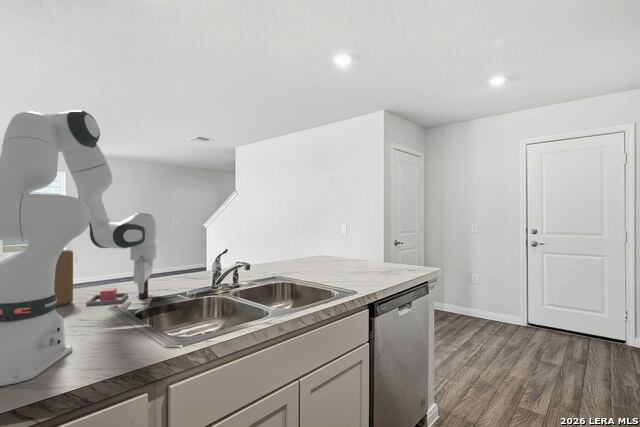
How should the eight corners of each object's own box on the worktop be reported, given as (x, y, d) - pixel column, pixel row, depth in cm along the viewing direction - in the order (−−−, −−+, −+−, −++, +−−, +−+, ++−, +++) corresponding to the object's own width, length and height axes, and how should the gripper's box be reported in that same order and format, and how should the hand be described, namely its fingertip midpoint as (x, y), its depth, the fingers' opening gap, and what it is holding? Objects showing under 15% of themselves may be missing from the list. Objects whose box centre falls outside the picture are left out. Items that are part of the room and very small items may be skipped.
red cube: (113, 302, 124) (113, 290, 124) (100, 303, 122) (100, 291, 122) (116, 299, 128) (116, 288, 128) (103, 300, 126) (103, 289, 126)
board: (148, 309, 116) (148, 307, 116) (125, 311, 114) (125, 309, 114) (155, 296, 135) (155, 294, 135) (135, 297, 133) (135, 295, 133)
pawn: (147, 299, 127) (147, 277, 127) (138, 299, 126) (138, 277, 126) (148, 297, 130) (148, 275, 130) (139, 297, 129) (139, 276, 129)
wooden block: (47, 310, 115) (47, 253, 115) (24, 308, 117) (25, 252, 117) (74, 302, 125) (74, 250, 125) (52, 300, 127) (52, 249, 127)
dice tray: (121, 305, 122) (122, 299, 122) (86, 308, 118) (86, 302, 118) (127, 297, 132) (127, 292, 132) (95, 300, 128) (95, 295, 128)
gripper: (148, 257, 120) (148, 295, 120) (155, 251, 139) (155, 284, 139) (129, 258, 117) (128, 297, 117) (138, 251, 137) (138, 285, 137)
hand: (143, 290), depth 128 cm, fingers open, 8 cm apart
